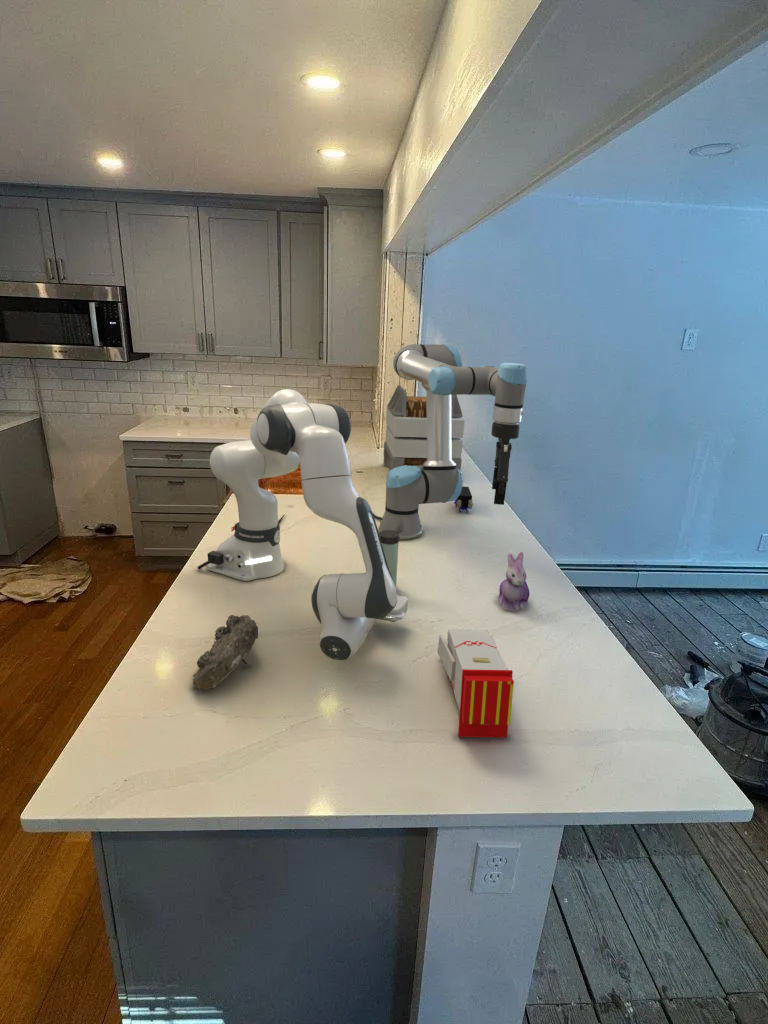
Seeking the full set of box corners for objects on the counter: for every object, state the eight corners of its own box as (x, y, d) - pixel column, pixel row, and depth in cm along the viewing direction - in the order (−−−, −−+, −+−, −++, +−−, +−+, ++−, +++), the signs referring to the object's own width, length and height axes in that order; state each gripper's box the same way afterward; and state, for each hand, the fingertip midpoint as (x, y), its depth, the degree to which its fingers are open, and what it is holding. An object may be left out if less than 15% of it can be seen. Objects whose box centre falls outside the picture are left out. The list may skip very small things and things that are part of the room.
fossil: (212, 617, 133) (257, 588, 128) (239, 645, 136) (285, 617, 131) (172, 683, 114) (224, 651, 109) (205, 714, 117) (258, 684, 112)
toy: (488, 613, 130) (523, 677, 101) (484, 667, 133) (517, 744, 104) (435, 612, 130) (455, 676, 101) (432, 666, 133) (451, 743, 103)
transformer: (382, 463, 289) (386, 382, 275) (445, 464, 293) (451, 384, 279) (390, 482, 257) (394, 392, 243) (460, 483, 261) (468, 394, 247)
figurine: (511, 616, 149) (518, 564, 143) (487, 598, 157) (493, 549, 152) (539, 609, 153) (547, 558, 148) (514, 592, 161) (521, 544, 156)
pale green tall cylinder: (386, 583, 163) (388, 530, 158) (399, 590, 160) (402, 535, 154) (373, 589, 160) (375, 534, 154) (386, 596, 156) (389, 540, 151)
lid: (388, 534, 159) (388, 528, 158) (403, 540, 155) (404, 534, 154) (374, 539, 155) (374, 533, 154) (389, 546, 151) (389, 539, 150)
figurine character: (472, 517, 222) (467, 501, 236) (475, 500, 219) (469, 484, 233) (455, 517, 222) (451, 500, 236) (457, 499, 219) (452, 484, 232)
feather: (291, 508, 223) (294, 504, 222) (274, 533, 196) (277, 528, 195) (287, 506, 222) (290, 502, 222) (270, 530, 196) (272, 526, 195)
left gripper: (401, 609, 131) (415, 583, 144) (319, 594, 136) (339, 570, 149) (399, 633, 133) (413, 605, 146) (318, 617, 138) (338, 592, 151)
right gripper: (524, 432, 142) (514, 512, 149) (517, 415, 165) (508, 484, 172) (494, 430, 143) (485, 509, 150) (491, 413, 166) (483, 482, 173)
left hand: (375, 588), depth 147 cm, fingers open, 8 cm apart
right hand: (497, 496), depth 161 cm, fingers open, 13 cm apart
